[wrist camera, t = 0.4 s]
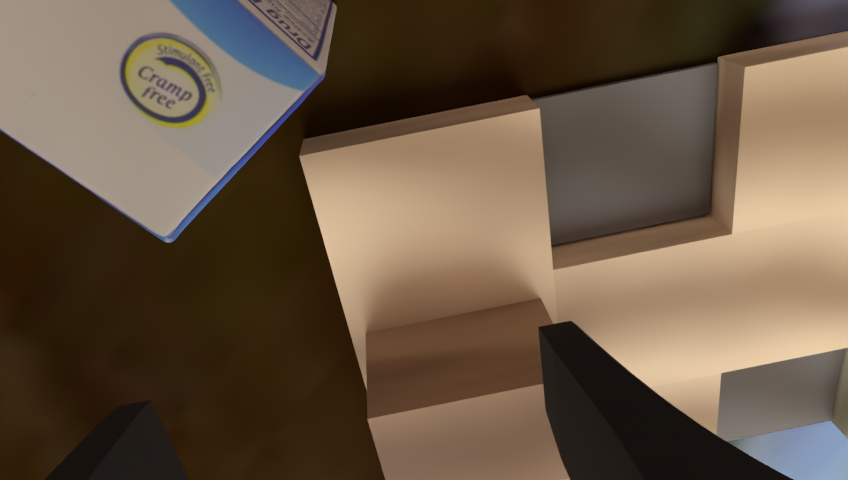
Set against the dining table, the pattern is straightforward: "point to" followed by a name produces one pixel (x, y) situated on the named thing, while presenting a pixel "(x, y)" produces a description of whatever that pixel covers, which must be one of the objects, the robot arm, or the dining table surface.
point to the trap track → (624, 226)
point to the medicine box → (156, 92)
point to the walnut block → (462, 397)
